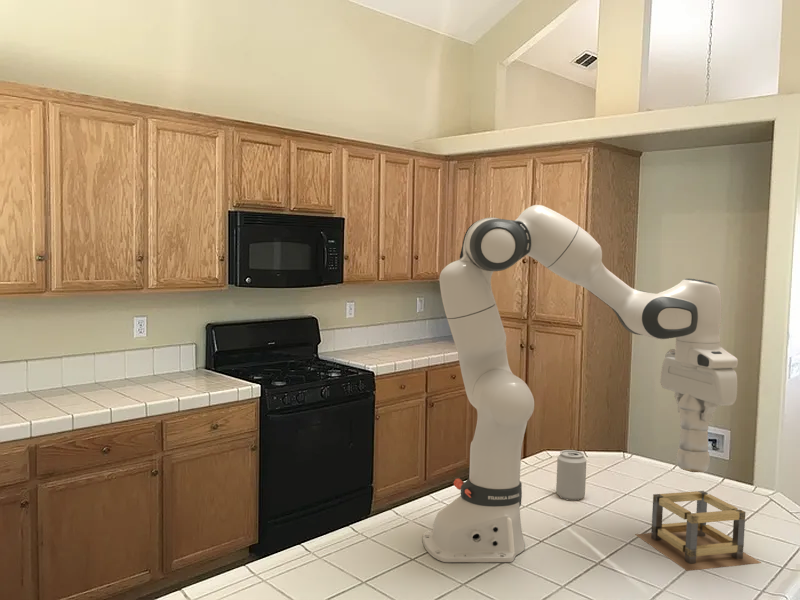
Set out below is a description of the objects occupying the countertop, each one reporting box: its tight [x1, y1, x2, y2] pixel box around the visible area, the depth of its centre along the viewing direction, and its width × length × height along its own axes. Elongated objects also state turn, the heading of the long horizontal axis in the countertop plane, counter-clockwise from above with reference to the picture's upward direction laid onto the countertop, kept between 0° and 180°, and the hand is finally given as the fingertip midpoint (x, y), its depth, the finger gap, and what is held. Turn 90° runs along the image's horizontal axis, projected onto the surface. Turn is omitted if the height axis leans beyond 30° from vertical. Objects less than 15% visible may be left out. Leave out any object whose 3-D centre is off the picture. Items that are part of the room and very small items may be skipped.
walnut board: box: [634, 532, 762, 572], centre depth 145 cm, size 18×18×1 cm
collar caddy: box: [650, 490, 746, 564], centre depth 145 cm, size 13×13×10 cm
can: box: [555, 449, 587, 501], centre depth 178 cm, size 8×8×12 cm
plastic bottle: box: [676, 393, 711, 473], centre depth 145 cm, size 6×7×20 cm
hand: (694, 417), depth 145 cm, fingers closed on plastic bottle, 6 cm apart
